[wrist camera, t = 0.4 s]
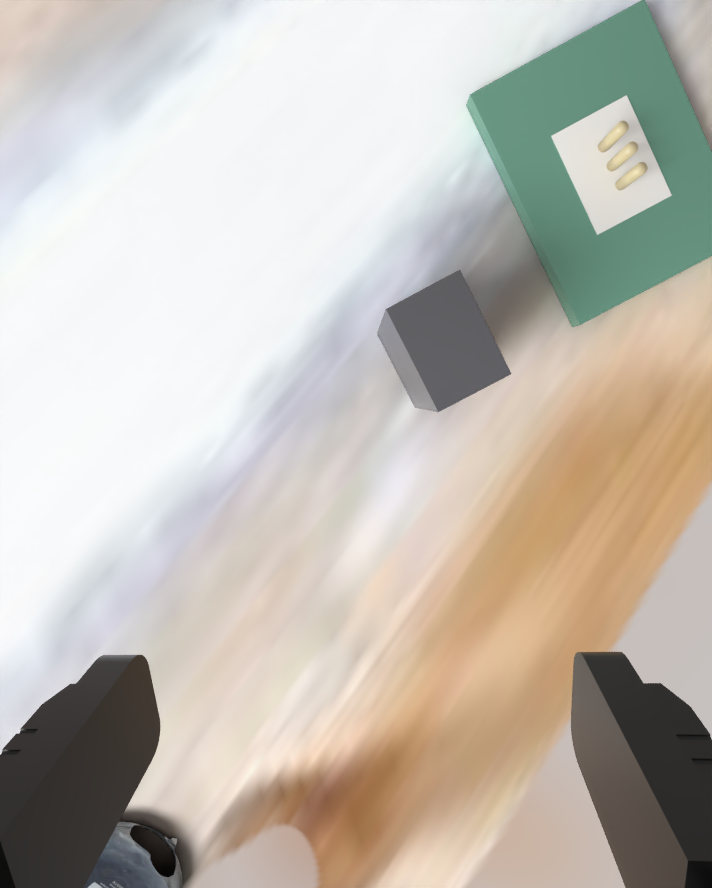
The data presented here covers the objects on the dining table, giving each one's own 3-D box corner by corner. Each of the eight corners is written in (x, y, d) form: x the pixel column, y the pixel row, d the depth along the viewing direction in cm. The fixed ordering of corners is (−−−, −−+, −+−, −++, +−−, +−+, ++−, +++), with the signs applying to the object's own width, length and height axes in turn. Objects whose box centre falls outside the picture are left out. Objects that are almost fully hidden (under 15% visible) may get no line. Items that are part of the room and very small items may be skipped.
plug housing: (377, 333, 35) (386, 309, 25) (430, 305, 35) (459, 269, 25) (414, 407, 36) (438, 411, 26) (467, 380, 35) (511, 374, 25)
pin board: (466, 105, 34) (479, 69, 30) (633, 13, 33) (668, -35, 30) (572, 327, 35) (597, 319, 31) (735, 241, 35) (780, 223, 31)
